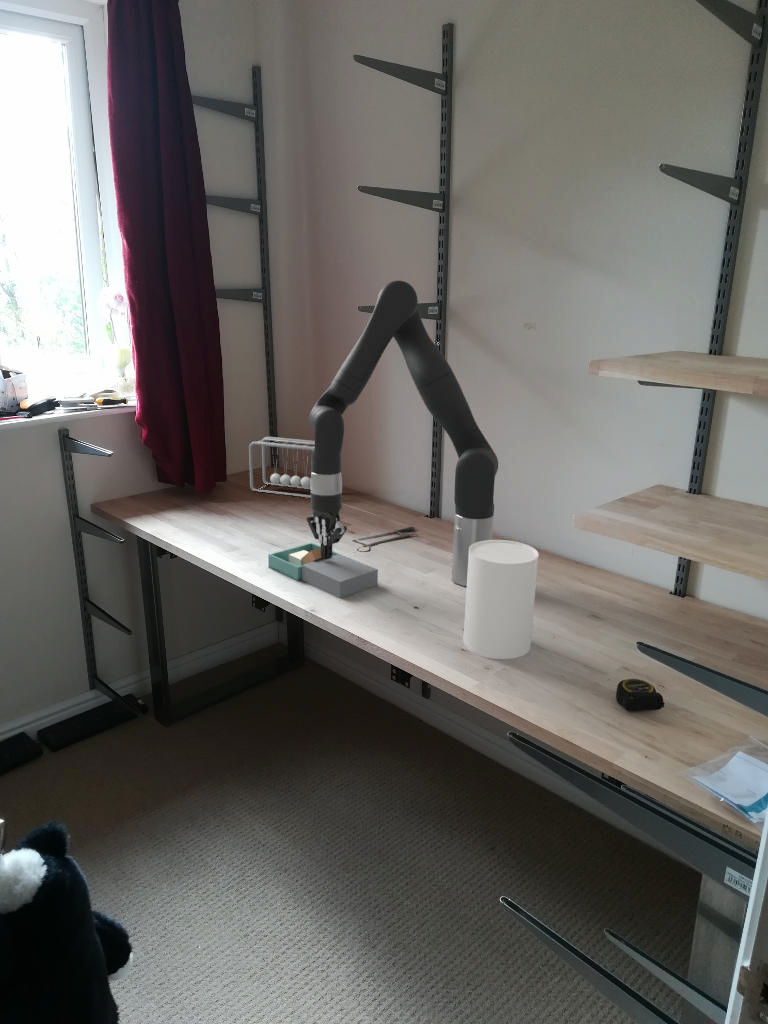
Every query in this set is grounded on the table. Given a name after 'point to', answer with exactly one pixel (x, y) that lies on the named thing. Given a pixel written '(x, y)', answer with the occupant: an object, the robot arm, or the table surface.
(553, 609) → the table surface
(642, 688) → the tape measure
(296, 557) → the cream tile
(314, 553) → the terracotta tile
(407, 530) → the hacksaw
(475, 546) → the canister
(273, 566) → the box
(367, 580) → the grey flat block
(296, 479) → the newton's cradle
